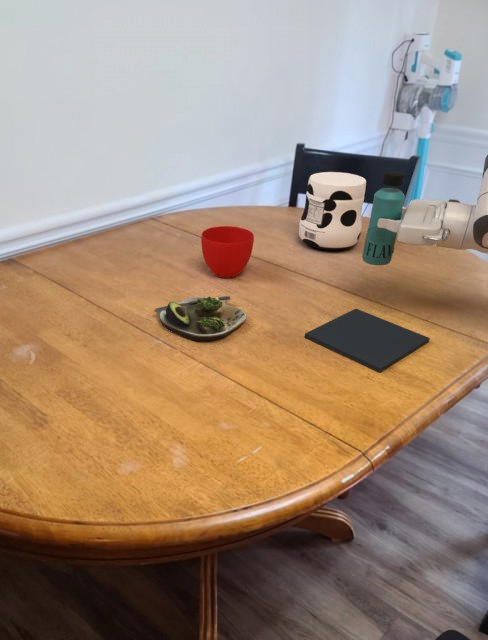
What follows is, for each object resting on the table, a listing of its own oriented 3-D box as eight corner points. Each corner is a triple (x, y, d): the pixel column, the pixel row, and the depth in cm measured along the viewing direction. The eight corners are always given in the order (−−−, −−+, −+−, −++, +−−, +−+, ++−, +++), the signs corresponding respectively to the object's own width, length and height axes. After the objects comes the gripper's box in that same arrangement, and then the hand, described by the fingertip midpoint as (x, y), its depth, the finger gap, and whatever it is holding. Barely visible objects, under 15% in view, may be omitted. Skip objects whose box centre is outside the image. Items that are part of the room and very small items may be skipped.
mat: (428, 342, 116) (430, 338, 115) (379, 373, 106) (380, 368, 106) (355, 312, 127) (355, 308, 126) (304, 337, 117) (305, 333, 116)
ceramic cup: (254, 259, 152) (257, 222, 146) (248, 285, 138) (251, 245, 132) (206, 256, 154) (207, 219, 148) (196, 281, 140) (197, 241, 134)
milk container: (357, 236, 168) (369, 173, 158) (358, 257, 154) (371, 189, 144) (299, 231, 171) (307, 169, 161) (294, 251, 157) (303, 184, 147)
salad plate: (201, 293, 134) (202, 275, 131) (263, 316, 125) (265, 297, 122) (144, 321, 122) (143, 302, 119) (208, 349, 113) (208, 329, 110)
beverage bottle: (358, 269, 124) (375, 174, 113) (362, 259, 129) (379, 167, 118) (388, 274, 122) (409, 178, 111) (391, 263, 127) (412, 170, 116)
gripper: (442, 257, 109) (370, 246, 114) (449, 226, 125) (385, 218, 129) (451, 225, 106) (376, 215, 110) (457, 197, 121) (390, 189, 125)
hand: (381, 216), depth 120 cm, fingers closed on beverage bottle, 6 cm apart
